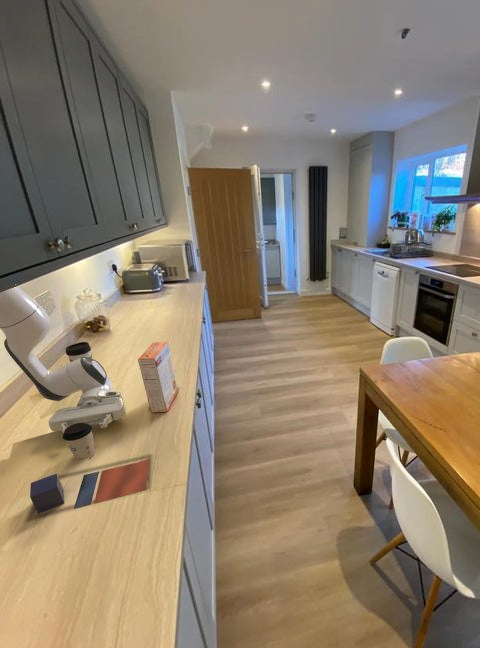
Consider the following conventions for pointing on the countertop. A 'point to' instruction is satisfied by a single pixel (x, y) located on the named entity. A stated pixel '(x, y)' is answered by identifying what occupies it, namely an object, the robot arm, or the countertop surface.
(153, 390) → the cracker box
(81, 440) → the coffee cup
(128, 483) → the sorting board
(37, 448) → the countertop surface
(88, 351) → the coffee cup
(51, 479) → the navy block
